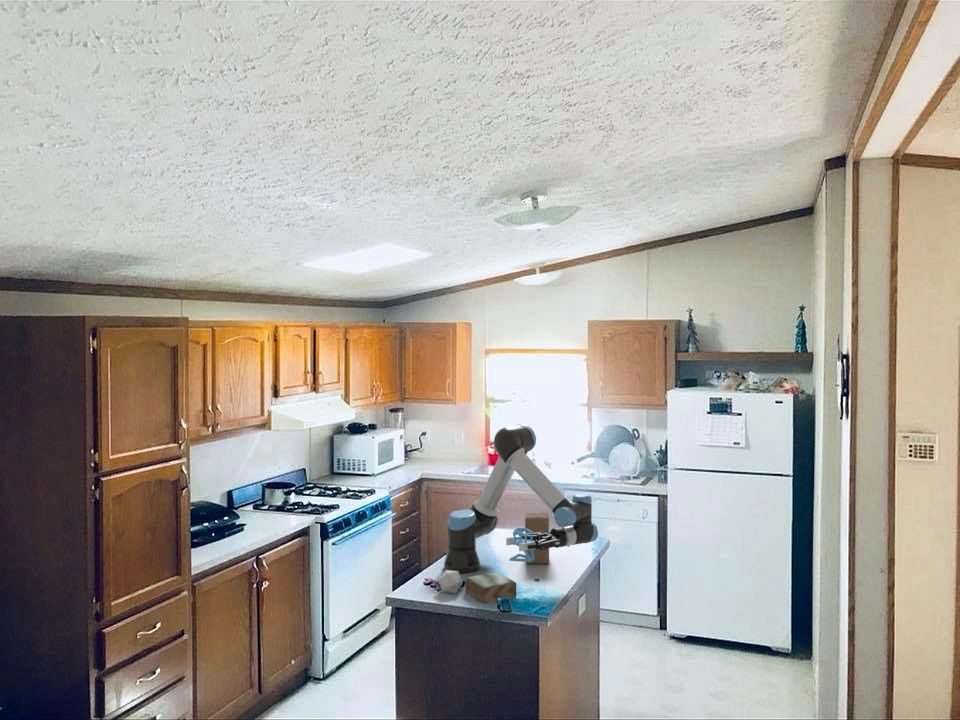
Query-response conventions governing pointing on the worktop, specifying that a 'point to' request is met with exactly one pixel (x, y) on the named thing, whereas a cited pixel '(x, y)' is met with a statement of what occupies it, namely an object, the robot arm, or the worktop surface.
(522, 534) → the chair
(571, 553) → the worktop surface
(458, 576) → the die
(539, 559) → the block
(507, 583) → the base block
